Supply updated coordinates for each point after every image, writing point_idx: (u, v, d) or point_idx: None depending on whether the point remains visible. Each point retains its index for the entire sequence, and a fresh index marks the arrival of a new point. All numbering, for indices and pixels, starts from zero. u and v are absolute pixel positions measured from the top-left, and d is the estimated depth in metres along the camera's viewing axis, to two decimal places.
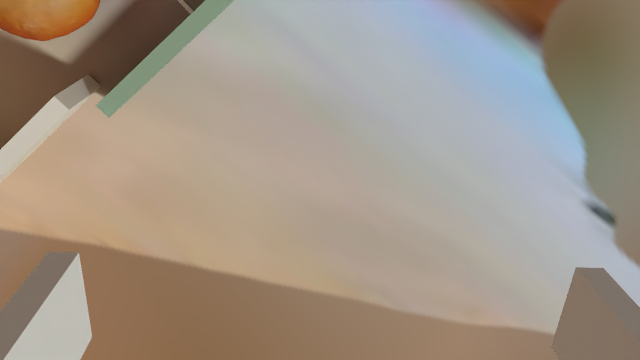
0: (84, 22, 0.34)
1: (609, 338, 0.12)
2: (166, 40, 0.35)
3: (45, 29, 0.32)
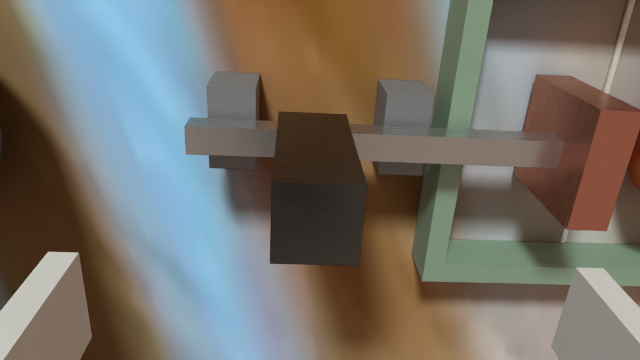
0: None
1: (609, 337, 0.12)
2: None
3: None
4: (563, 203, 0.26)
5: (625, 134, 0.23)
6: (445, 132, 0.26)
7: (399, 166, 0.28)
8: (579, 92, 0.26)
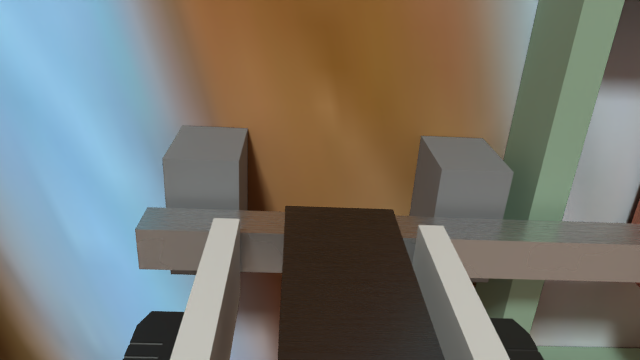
0: None
1: (430, 282, 0.14)
2: None
3: None
4: None
5: None
6: (542, 229, 0.17)
7: None
8: None
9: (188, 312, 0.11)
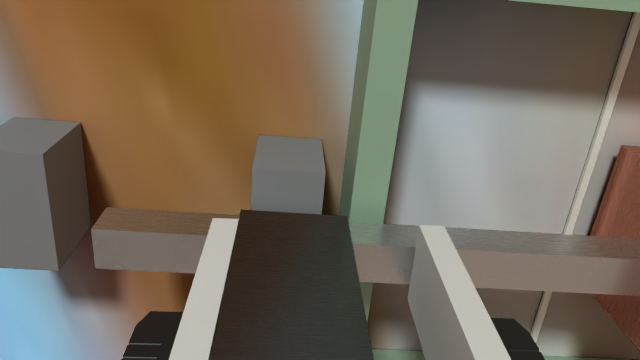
0: None
1: (431, 282, 0.14)
2: None
3: None
4: None
5: None
6: (496, 239, 0.17)
7: None
8: None
9: (187, 312, 0.11)
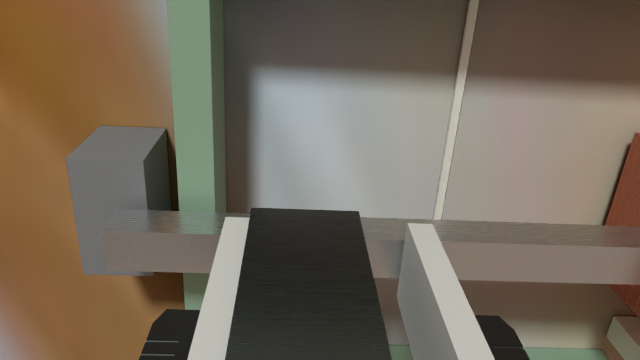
0: None
1: (418, 280, 0.14)
2: None
3: None
4: None
5: None
6: (509, 231, 0.17)
7: None
8: None
9: (204, 310, 0.11)
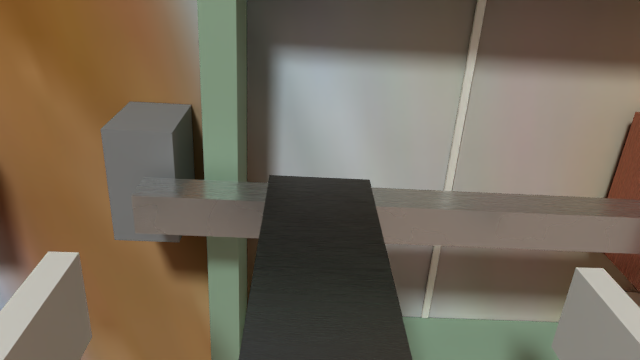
0: None
1: (608, 337, 0.12)
2: None
3: None
4: None
5: None
6: (512, 201, 0.18)
7: None
8: None
9: None
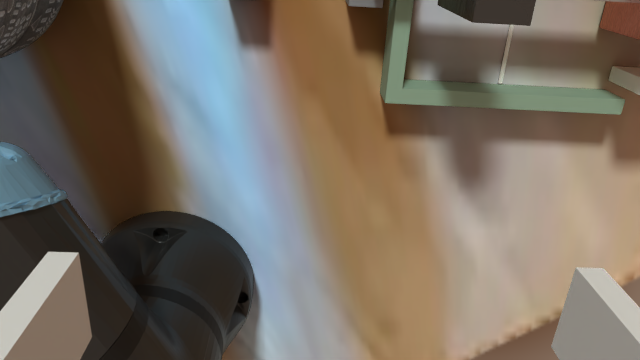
0: None
1: (609, 337, 0.12)
2: None
3: None
4: None
5: None
6: None
7: None
8: None
9: None
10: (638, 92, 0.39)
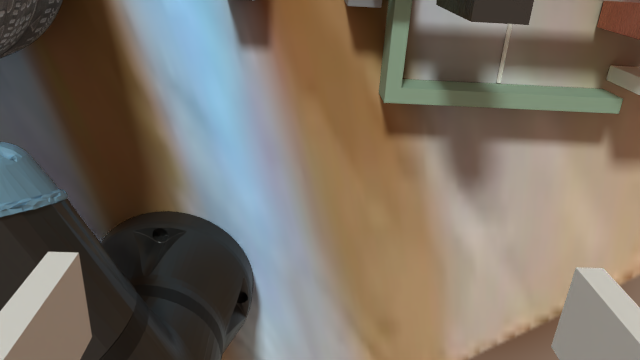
0: None
1: (609, 337, 0.12)
2: None
3: None
4: None
5: None
6: None
7: None
8: None
9: None
10: (636, 91, 0.40)
